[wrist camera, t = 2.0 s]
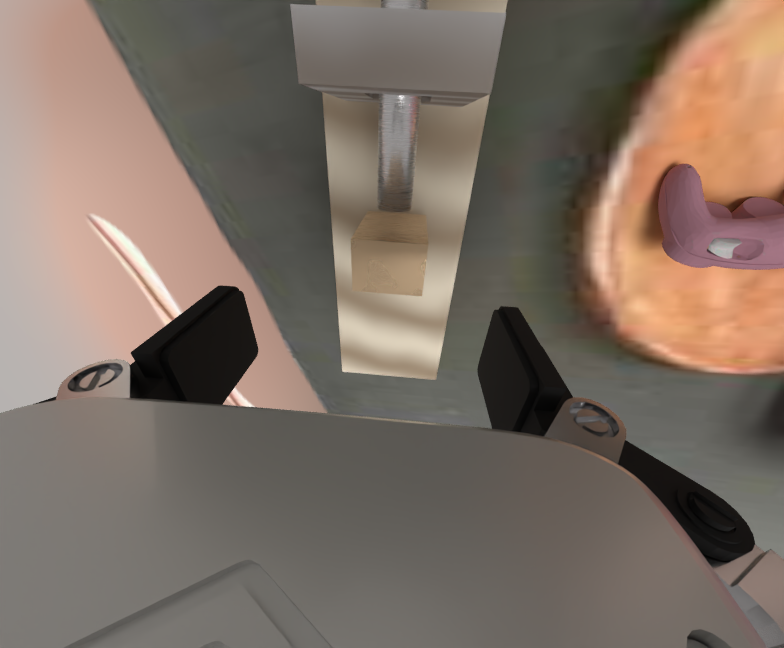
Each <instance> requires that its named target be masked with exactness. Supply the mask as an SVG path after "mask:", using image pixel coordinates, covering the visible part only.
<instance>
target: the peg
mask: <svg viewBox="0 0 784 648" xmlns="http://www.w3.org/2000/svg"><path fill="white" fill-rule="evenodd" d="M428 5H429V0H380V8H398V9H423V10H428ZM420 103H421V96H411V95H392V94H379V123H378V185H377V208H378V209H380V210H383V211H388V212H374V211H368V212H367V213H366V215H365V217H364V218H363V220H362V221H361V223H360V225H359V226H358V228H357V230H356V231H355V233H354V234H353V236H352V238H351V266H352V291H359V292H371V293H384V294H396V295H409V296H422V293H423V285H424V277H425V269H426V261H427V252H428V233H427V220H426V215H418V214H403V213H389V212H407V211H410V210H412V200H413V188H414V176H415V164H416V151H417V139H418V127H419V115H420Z"/></svg>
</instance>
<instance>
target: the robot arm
mask: <svg viewBox="0 0 784 648" xmlns="http://www.w3.org/2000/svg"><path fill="white" fill-rule="evenodd" d="M131 354H132V356H133V358H134V360H135V362H134V363H132V364H131V365H130V364H129V363H128V362H126V361H125V360H118V359H115V360H105V361H101V362H97V363H94V364H91V365H88V366H86V367H84V368H82V369H79V370H77V371H76V372H74V373H73V374H71V375H70V376H68V377H67V378H66V379H65V380H64V381H63V382H62V384H61V385H60V387H59V390H58V394H57V396H56V397H54V398H51V399H48V400H45V401H42V402H39V403H36V404H33V405H28V406H24V407H21V408H16V409H13V410H10V411H6V412H3V413H0V648H784V559H783V558H782V557H780V556H779V555H778V554H777V553H775V552H774V551H773V550H772V549H770V550H768V551H766V552H764V551H763V550H762V549H760V548H759V547H758V546H757V545H755V541H754V537H753V533H752V532H751V530H750V528H749V526H748V525H747V523H746V522H745V520H744V519H743V518H742V517H741V516H740V515H739V513H738V512H737V511H736V510H735V509H734V508H732V507H731V506H730V505H729V504H728V503H727V502H726V501H724V500H723V499H722V498H720V497H719V496H717V495H716V494H714V493H713V492H711V491H710V490H708V489H706V488H705V487H703V486H701V485H700V484H698V483H696V482H695V481H693V480H691V479H690V478H688V477H686V476H685V475H683V474H681V473H679V472H678V471H676V470H674V469H673V468H671V467H669V466H668V465H666V464H664V463H663V462H661V461H659V460H658V459H656V458H654V457H653V456H651V455H649V454H648V453H646V452H644V451H643V450H641V449H639V448H638V447H636V446H634V445H633V444H631V443H629V442H628V441H626V440H625V439H626V428H625V426H624V424H623V422H622V421H621V420H620V418H619V417H618V416H617V415H616V414H615V413H614V412H612V411H611V410H610V409H609V408H607V407H605V406H604V405H602V404H600V403H598V402H595V401H593V400H590V399H586V398H578V397H574V398H573V396H572V395H571V393H570V391H569V390H568V388H567V386H566V385H565V383H564V381H563V380H562V378H561V377H560V375H559V373H558V372H557V370H556V368H555V367H554V365H553V363H552V362H551V360H550V358H549V357H548V355H547V354H546V352H545V350H544V349H543V347H542V346H541V345H540V343H539V342H538V340H537V338H536V337H535V335H534V333H533V332H532V330H531V328H530V327H529V325H528V323H527V322H526V320H525V318H524V317H523V315H522V313H521V312H520V310H519V309H518V308H516V307H503V306H501V307H500V308H499V310H494V312H493V315H492V319H491V322H490V326H489V329H488V333H487V336H486V340H485V343H484V347H483V350H482V354H481V357H480V361H479V364H478V377H479V380H480V384H481V388H482V392H483V395H484V399H485V403H486V407H487V410H488V414H489V418H490V422H491V425H492V429H489V428H481V427H469V426H459V425H450V424H439V423H428V422H417V421H407V420H396V419H385V418H374V417H363V416H351V415H340V414H328V413H317V412H304V411H293V410H281V409H270V408H257V407H245V406H232V405H222V404H223V403H224V401H225V400H226V398H227V397H228V396H229V394H230V393H231V391H232V390H233V389H234V387H235V386H236V385H237V383H238V382H239V380H240V379H241V378H242V376H243V374H244V373H245V372H246V371H247V369H248V368H249V366H250V365H251V364H252V362H253V361H254V359H255V358H256V356H257V354H258V346H257V342H256V338H255V334H254V331H253V327H252V323H251V320H250V316H249V312H248V308H247V305H246V301H245V297H244V294H243V292H242V291H239V289H238V288H237V287H233V286H218V287H216V288H215V289H213V290H212V291H211V292H209V293H208V294H207V295H206V296H204V297H203V298H202V299H200V300H199V301H198V302H196V303H195V304H194V305H193V306H191V307H190V308H189V309H187V310H186V311H185V312H183V313H182V314H181V315H179V316H178V317H177V318H175V319H174V320H173V321H171V322H170V323H169V324H167V325H166V326H165V327H164V328H162V329H161V330H160V331H158V332H157V333H156V334H154V335H153V336H152V337H150V338H149V339H148V340H146V341H145V342H144V343H143V344H141V345H140V346H139V347H137V348H136V349H135V350H133V351H132V352H131Z"/></svg>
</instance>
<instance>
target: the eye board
mask: <svg viewBox="0 0 784 648" xmlns="http://www.w3.org/2000/svg"><path fill="white" fill-rule="evenodd" d="M507 1H508V0H429V5H428V10H423V9H398V8H380V0H316V5H300V4H290V7H291V16H292V25H293V35H294V44H295V53H296V63H297V72H298V81H299V84H301V85H304V86H307V87H310V88H313V89H315V90H318V91H321V92H322V96H323V110H324V123H325V137H326V151H327V165H328V179H329V193H330V206H331V220H332V234H333V248H334V262H335V275H336V289H337V303H338V317H339V331H340V345H341V358H342V371H343V372H354V373H365V374H376V375H387V376H398V377H410V378H421V379H432V380H436V376H437V371H438V366H439V360H440V355H441V350H442V344H443V339H444V334H445V329H446V323H447V318H448V313H449V307H450V302H451V297H452V292H453V286H454V281H455V276H456V270H457V265H458V260H459V255H460V249H461V244H462V239H463V233H464V228H465V223H466V218H467V212H468V207H469V202H470V196H471V191H472V186H473V181H474V175H475V170H476V165H477V159H478V154H479V149H480V144H481V138H482V133H483V128H484V122H485V117H486V112H487V107H488V101H489V96H490V94H491V91H492V86H493V81H494V76H495V70H496V65H497V60H498V55H499V49H500V44H501V39H502V34H503V28H504V23H505V18H506V13H505V11H506V6H507ZM379 94H392V95H411V96H421V103H420V115H419V127H418V139H417V151H416V164H415V176H414V188H413V200H412V210H410V211H407V212H389V213H403V214H418V215H426V220H427V233H428V252H427V261H426V269H425V277H424V285H423V293H422V296H409V295H396V294H384V293H371V292H359V291H352V266H351V238H352V236H353V234H354V233H355V231H356V230H357V228H358V226H359V225H360V223H361V221H362V220H363V218H364V217H365V215H366V213H367V212H368V211H374V212H388V211H383V210H380V209H378V208H377V185H378V123H379Z"/></svg>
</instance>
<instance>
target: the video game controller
mask: <svg viewBox="0 0 784 648" xmlns="http://www.w3.org/2000/svg"><path fill="white" fill-rule="evenodd" d="M658 210H659V220H660V223H661V227H662V231H663V234H664V239H663V242H662V247H663V249H664V251H665V252H666V254H667V255H668V256H669V257H671V258H672V259H673V260H675V261H677V262H679V263H681V264H684V265H688V266H691V267H697V268H705V267H710V266H718V267H724V268H734V269H752V270H761V269H778V268H784V205H782V204H780V203H778V202H776V201H774V200H771V199H768V198H763V197H754V198H750V199H747V200H746V201H744V202H743V203H742V204H741V205H740V206H739V207H738V208H737V209H735V210H734V211H733V212H732V213H731V212H730V211H729V210H728V209H727V208H726V207H725V206H723V205H721V204H717V203H713V202H705V200H704V195H703V190H702V184H701V180H700V176H699V174H698V173H697V171H696V170H695V168H694V167H692V166H691V165H689V164H679V165H677V166H675V167H674V168H672V169H671V170H670V171H669V172H668V173H667V175H666V177H665V178H664V180H663V183H662V186H661V188H660V193H659V201H658Z"/></svg>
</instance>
